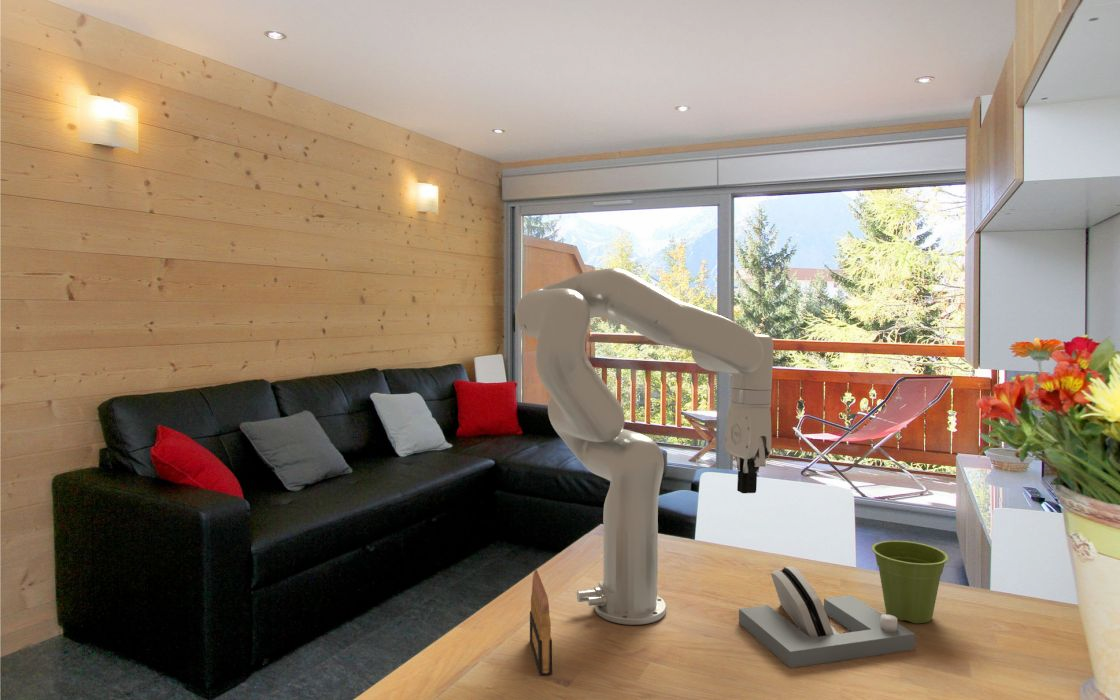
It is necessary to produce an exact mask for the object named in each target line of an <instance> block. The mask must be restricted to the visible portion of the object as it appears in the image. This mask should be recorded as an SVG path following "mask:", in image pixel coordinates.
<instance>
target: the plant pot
mask: <svg viewBox="0 0 1120 700" xmlns="http://www.w3.org/2000/svg"><path fill="white" fill-rule="evenodd" d="M871 551H872V553H873V554H874V555H875V559H876V560H875V561H876V565H877V567H878V572H879V576H880V577H879V578H880V583H881V589H882V590H881V591H882V596H883V602H884V608H885V609H884V610H885V611H886V614H888V615H893V616H895V617H896V618H897V621H907V622H910V623H913V624H923V623H929V622H930V621H931V620H932V619H933V618H934V617H933V616H934V611H935V606H936V601H937V596H938V591H939V587H940V586H939V585H940V581H941V577H942V576H941V575H942V574H943V571H944V567H945V564H946V563H947V562H948V561H949V555H948V554H947V553H946V552H945V551H943V550H941V549H940V548H937V547H935V546H932V545H928V544H924V543H920V542H913V541H907V540H884V541H879V542H876V543H874V544H873V545H872V546H871Z"/></svg>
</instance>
